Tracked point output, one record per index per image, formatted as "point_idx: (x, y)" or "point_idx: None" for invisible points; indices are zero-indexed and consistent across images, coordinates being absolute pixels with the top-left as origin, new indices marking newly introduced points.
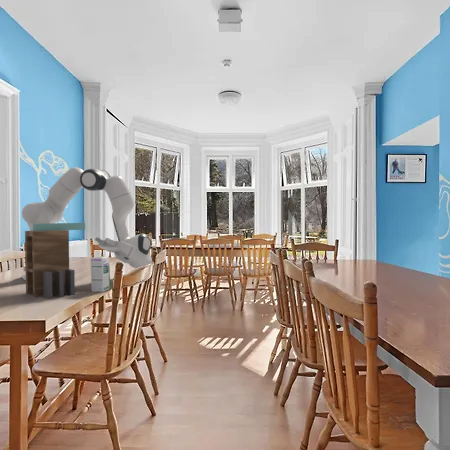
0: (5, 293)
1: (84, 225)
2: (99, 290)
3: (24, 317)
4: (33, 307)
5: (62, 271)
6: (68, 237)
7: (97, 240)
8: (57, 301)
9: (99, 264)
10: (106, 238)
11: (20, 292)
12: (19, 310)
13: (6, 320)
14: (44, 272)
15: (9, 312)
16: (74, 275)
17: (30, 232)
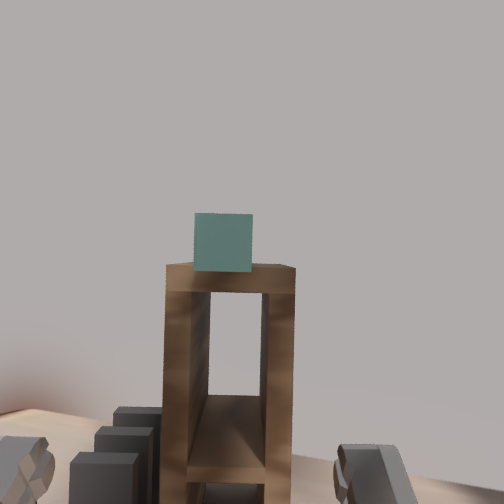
0: (314, 459)
1: (195, 235)
2: None
3: (6, 423)
4: (59, 449)
5: (96, 433)
6: (166, 303)
7: (342, 495)
8: (42, 499)
9: None
10: (21, 437)
11: (301, 483)
12: (70, 431)
13: (29, 409)
14: (148, 408)
15: (78, 421)
16: (69, 491)
17: None
